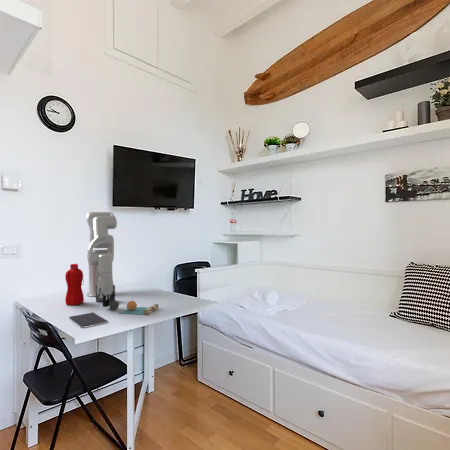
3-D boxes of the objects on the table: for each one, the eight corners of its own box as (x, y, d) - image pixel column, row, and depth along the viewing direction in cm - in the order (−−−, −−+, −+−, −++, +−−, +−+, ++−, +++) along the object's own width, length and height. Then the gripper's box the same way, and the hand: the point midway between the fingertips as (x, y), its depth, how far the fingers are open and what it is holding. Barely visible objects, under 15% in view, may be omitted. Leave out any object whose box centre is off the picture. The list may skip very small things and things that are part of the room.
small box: (115, 300, 208) (115, 284, 208) (109, 303, 201) (109, 286, 201) (101, 299, 211) (101, 284, 211) (95, 302, 204) (95, 285, 204)
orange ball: (132, 298, 187) (140, 303, 186) (128, 305, 188) (135, 311, 187) (127, 300, 182) (135, 305, 181) (123, 308, 182) (131, 313, 181)
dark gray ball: (118, 297, 188) (122, 306, 188) (111, 300, 190) (115, 309, 189) (112, 300, 183) (116, 309, 183) (105, 303, 184) (109, 312, 184)
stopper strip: (155, 308, 188) (155, 304, 188) (158, 308, 188) (158, 304, 188) (143, 315, 175) (143, 310, 175) (147, 315, 174) (147, 310, 174)
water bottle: (78, 306, 195) (78, 265, 195) (63, 305, 197) (62, 264, 197) (88, 302, 204) (87, 263, 204) (73, 301, 206) (72, 262, 206)
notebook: (107, 323, 162) (93, 315, 178) (107, 320, 162) (93, 312, 178) (81, 329, 153) (68, 319, 169) (81, 326, 153) (68, 316, 169)
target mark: (132, 306, 192) (132, 306, 192) (153, 308, 189) (153, 307, 189) (119, 313, 178) (119, 313, 178) (142, 314, 175) (142, 314, 175)
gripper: (107, 273, 196) (107, 302, 196) (91, 277, 181) (92, 309, 182) (118, 273, 194) (118, 303, 194) (103, 277, 180) (104, 310, 180)
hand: (106, 306), depth 188 cm, fingers closed
